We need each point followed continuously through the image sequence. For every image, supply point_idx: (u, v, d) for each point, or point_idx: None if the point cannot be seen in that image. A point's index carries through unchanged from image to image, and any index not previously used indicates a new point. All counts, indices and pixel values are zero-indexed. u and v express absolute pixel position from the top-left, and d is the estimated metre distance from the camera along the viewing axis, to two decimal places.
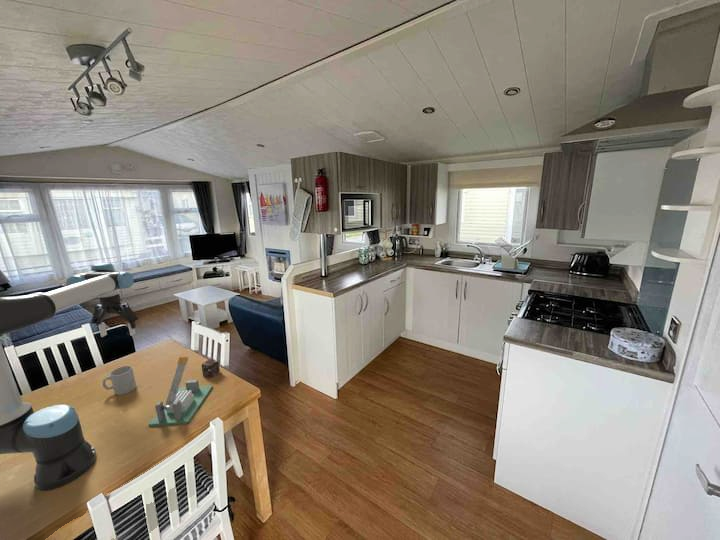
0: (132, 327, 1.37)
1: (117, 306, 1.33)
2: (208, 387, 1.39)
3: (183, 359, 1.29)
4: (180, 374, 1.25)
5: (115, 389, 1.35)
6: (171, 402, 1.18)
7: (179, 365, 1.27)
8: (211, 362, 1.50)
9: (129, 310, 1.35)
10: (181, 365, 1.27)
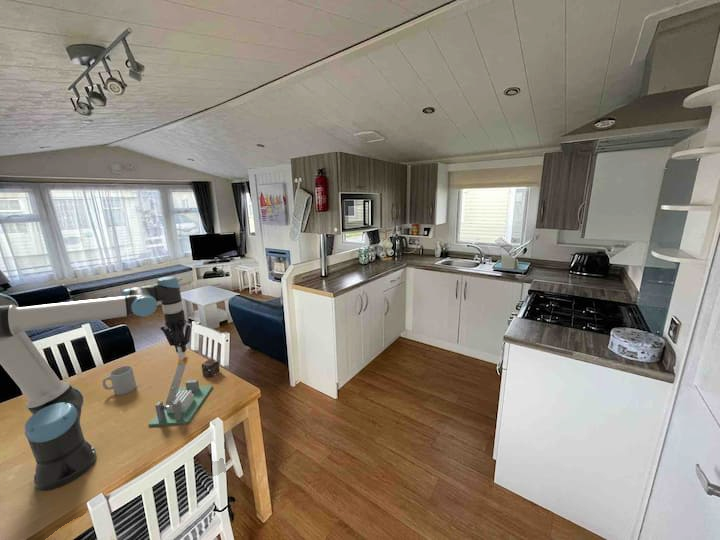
0: (183, 350, 1.27)
1: (182, 323, 1.24)
2: (208, 387, 1.39)
3: (183, 359, 1.29)
4: (180, 374, 1.25)
5: (115, 389, 1.35)
6: (171, 402, 1.18)
7: (179, 365, 1.28)
8: (211, 362, 1.50)
9: (188, 332, 1.26)
10: (181, 365, 1.27)
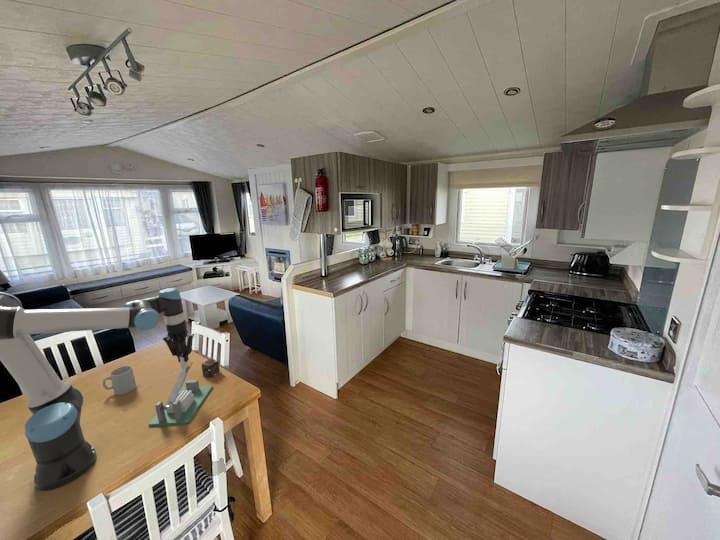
0: (185, 360, 1.29)
1: (184, 334, 1.25)
2: (208, 387, 1.39)
3: None
4: (183, 377, 1.28)
5: (115, 389, 1.35)
6: (172, 402, 1.19)
7: (183, 369, 1.31)
8: (211, 362, 1.50)
9: (191, 342, 1.27)
10: (185, 369, 1.31)
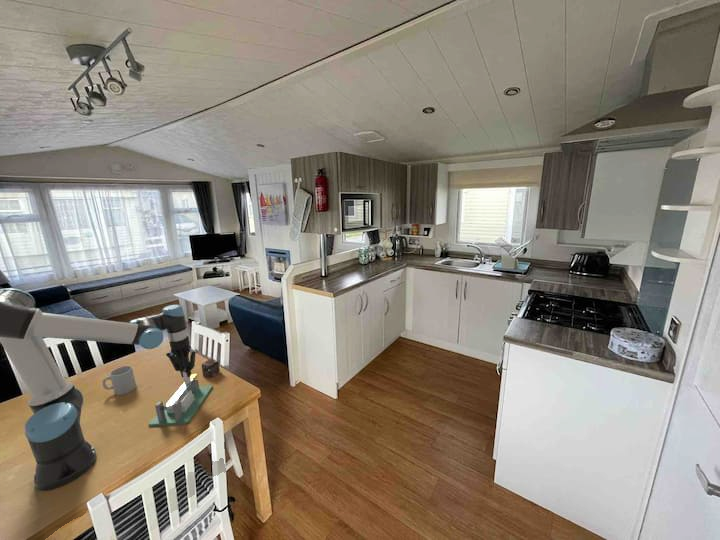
0: (188, 375, 1.31)
1: (187, 350, 1.27)
2: (208, 387, 1.39)
3: (192, 375, 1.37)
4: (187, 385, 1.30)
5: (115, 389, 1.35)
6: (172, 403, 1.19)
7: None
8: (211, 362, 1.50)
9: (193, 358, 1.29)
10: None
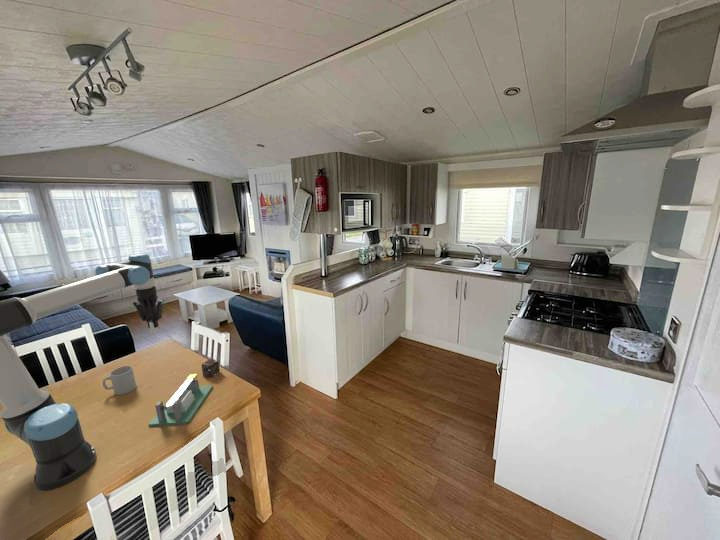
0: (155, 326, 1.32)
1: (153, 299, 1.29)
2: (208, 387, 1.39)
3: (192, 375, 1.37)
4: (187, 385, 1.30)
5: (115, 389, 1.35)
6: (172, 403, 1.19)
7: (188, 379, 1.34)
8: (211, 362, 1.50)
9: (160, 308, 1.31)
10: (189, 379, 1.34)
